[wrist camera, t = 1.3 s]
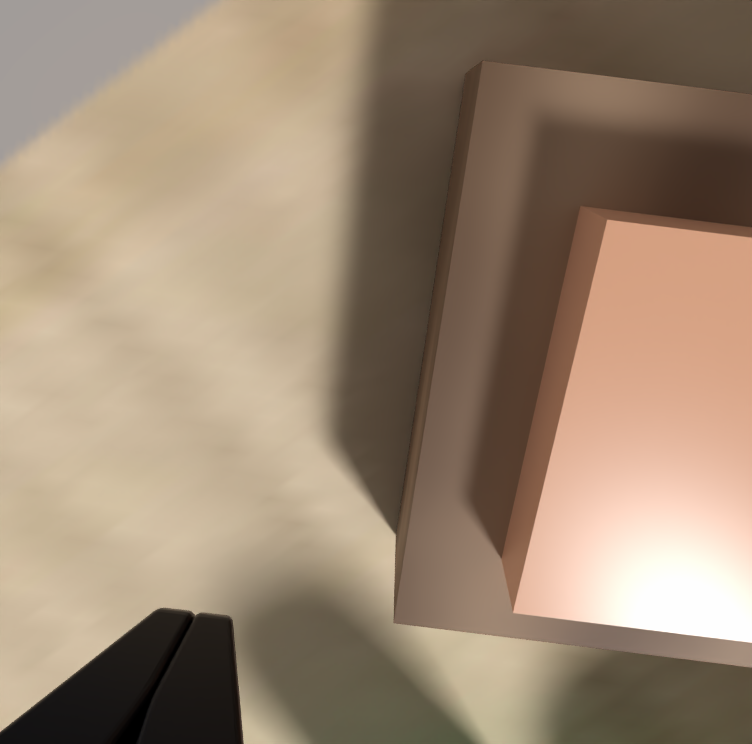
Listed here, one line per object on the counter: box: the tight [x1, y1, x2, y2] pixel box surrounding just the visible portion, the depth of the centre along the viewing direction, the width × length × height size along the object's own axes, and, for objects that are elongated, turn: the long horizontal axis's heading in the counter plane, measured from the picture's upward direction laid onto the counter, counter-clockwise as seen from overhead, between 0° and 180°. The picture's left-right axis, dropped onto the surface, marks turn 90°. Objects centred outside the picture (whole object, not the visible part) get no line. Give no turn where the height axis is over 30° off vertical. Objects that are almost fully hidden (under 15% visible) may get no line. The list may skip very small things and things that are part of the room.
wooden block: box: [394, 61, 752, 668], centre depth 17 cm, size 12×14×4 cm
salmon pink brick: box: [501, 206, 752, 643], centre depth 15 cm, size 6×9×2 cm, turn 173°
